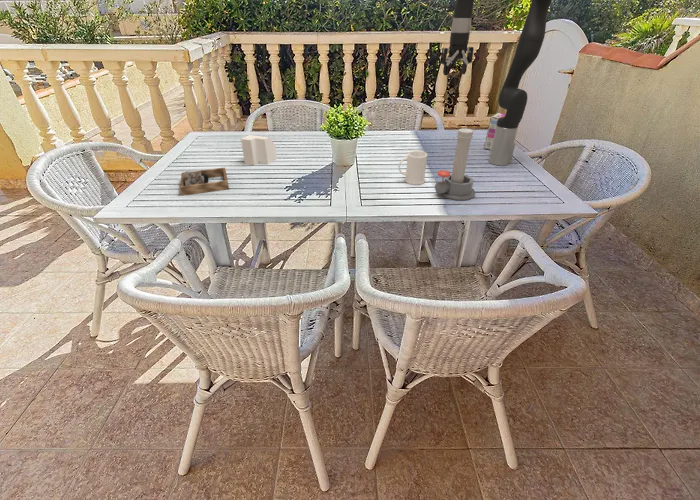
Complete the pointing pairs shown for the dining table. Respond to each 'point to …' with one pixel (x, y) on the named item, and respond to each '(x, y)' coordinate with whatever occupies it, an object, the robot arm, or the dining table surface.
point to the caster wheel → (194, 178)
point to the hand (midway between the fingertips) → (454, 74)
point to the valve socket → (455, 187)
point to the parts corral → (206, 186)
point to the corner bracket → (258, 150)
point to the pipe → (461, 154)
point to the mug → (415, 167)
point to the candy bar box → (492, 130)
